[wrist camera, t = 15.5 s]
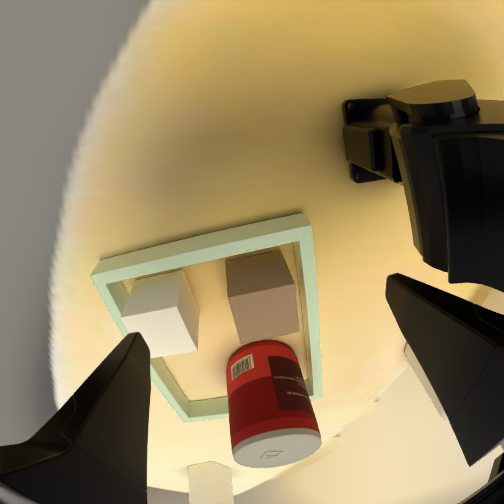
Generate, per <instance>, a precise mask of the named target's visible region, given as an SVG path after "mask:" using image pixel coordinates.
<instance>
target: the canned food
mask: <svg viewBox="0 0 504 504" xmlns="http://www.w3.org/2000/svg"><path fill="white" fill-rule="evenodd" d="M226 379H227V394H228V409H229V423H230V436H231V445H232V453H233V458H234V461H236V462H237V463H238V464H240V465H243V466H247V467H253V468H270V467H278V466H283V465H288V464H291V463H294V462H297V461H300V460H302V459H304V458H306V457H308V456H310V455H311V454H313V453H314V452H315V451H317V450H318V449H319V447H320V446H321V444H322V442H321V435H320V432H319V428H318V424H317V421H316V418H315V414H314V411H313V408H312V405H311V401H310V398H309V395H308V392H307V388H306V385H305V382H304V379H303V376H302V372H301V369H300V366H299V363H298V360H297V357H296V356H295V354H294V353H293V352H292V350H291V349H290V348H289V347H288V346H286V345H284V344H282V343H278V342H273V341H263V342H256V343H253V344H249V345H247V346H245V347H243V348H241V349H240V350H238V351H237V352H236V353H235V354H234V355H233V356H232V357H231V359H230V361H229V363H228V366H227V370H226Z"/></svg>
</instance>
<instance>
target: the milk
mask: <svg viewBox="0 0 504 504" xmlns="http://www.w3.org/2000/svg"><path fill="white" fill-rule="evenodd" d="M189 504H234V499H233V489H232V479H231V469H230V468H229V467H226V466H223V465H221V464H218V463H215V462H213V461H210V462H206V463H201V464H196V465H191V466H189Z"/></svg>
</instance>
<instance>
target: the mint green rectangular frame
mask: <svg viewBox="0 0 504 504" xmlns="http://www.w3.org/2000/svg"><path fill="white" fill-rule="evenodd" d="M291 242H293V243H294V251H295V258H296V266H297V273H298V281H299V290H300V298H301V307H302V316H303V325H304V335H305V345H306V355H307V366H308V378H309V379H308V380H305V381H304V382H305V385H306V388H307V392H308V395H309V398H310V400H314V399H318V398H321V397H322V367H321V341H320V321H319V305H318V290H317V277H316V266H315V255H314V244H313V235H312V225H311V224H310V222H309V221H308V220H307V219H306V217H305V216H304V215H303V214H302V213H299V214H294V215H290V216H285V217H280V218H275V219H271V220H266V221H262V222H257V223H252V224H248V225H243V226H239V227H234V228H230V229H226V230H221V231H217V232H212V233H208V234H204V235H200V236H195V237H191V238H187V239H183V240H179V241H174V242H170V243H166V244H162V245H158V246H154V247H150V248H146V249H142V250H138V251H134V252H130V253H126V254H122V255H118V256H114V257H111V258H107V259H103V260H100V261H99V263H98V264H97V266H96V267H95V269H94V271H93V272H92V274H91V275H90V276H91V278H92V281H93V283H94V285H95V286H96V288H97V290H98V292H99V294H100V296H101V298H102V300H103V302H104V304H105V306H106V307H107V309H108V311H109V313H110V315H111V316H112V318H113V320H114V322H115V323H116V325H117V327H118V328H119V330H120V332H121V334H122V335H123V337H124V338H125V336H126V335H127V334H128V333H129V332H128V330H127V328H126V327H125V325H124V323H123V322H122V320H121V318H120V317H121V314H122V312H123V309H124V307H125V304H126V302H127V299H128V296H127V294H126V292H125V290H124V287H123V285H122V283H121V280H126V279H130V278H135V277H139V276H144V275H148V274H152V273H157V272H161V271H166V270H170V269H175V268H179V267H184V266H188V265H193V264H197V263H202V262H206V261H211V260H215V259H220V258H224V257H229V256H233V255H238V254H242V253H247V252H251V251H256V250H260V249H264V248H269V247H273V246H278V245H282V244H287V243H291ZM150 375H151V380H152V381H153V382H154V384H155V385H156V387H157V388H158V389H159V391H160V392H161V393H162V395H163V396H164V398H165V399H166V400H167V401H168V403H169V404H170V405H171V407H172V408H173V409H174V411H175V412H176V413H177V414H178V416H179V417H180V418H181V419H182V421H183V422H192V421H202V420H211V419H219V418H226V417H229V409H228V396H227V397H221V398H214V399H207V400H199V401H191V402H189V401H188V399H187V398H186V396H185V395H184V393H183V392H182V390H181V389H180V387H179V386H178V384H177V383H176V381H175V380H174V378H173V376H172V375H171V373H170V372H169V370H168V368H167V367H166V365H165V363H164V362H163V360H162V358H161V357H156V358H150Z"/></svg>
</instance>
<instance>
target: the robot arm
mask: <svg viewBox="0 0 504 504" xmlns="http://www.w3.org/2000/svg"><path fill="white" fill-rule="evenodd" d="M349 103H350V104H351V106H352V107H351V109H349V108H348V104H349ZM342 107H343V114H344V121H345V126H344V128H343V133H344V141H345V149H346V158H347V160H348V161H349V163H350V174H351V179H352V181H354V182H356V183H363V182H370V181H376V180H382V179H389V180H391V181H393V182H395V183H398V184H400V185H402V186H404V190H405V195H406V200H407V205H408V210H409V216H410V222H411V228H412V234H413V241H414V246H415V247H416V248H417V250H418V251H419V253H420V254H421V255H422V257H423V261H424V262H425V263H427V264H428V265H430V266H431V267H433V268H436V269H439V270H441V271H444V272H448V282H449V283H451V284H454V283H466V282H468V283H476V284H483V285H486V286H489V287H492V288H494V289H497V290H499V291H502V292H504V101H497V100H477V99H476V95H475V92H474V91H473V89H472V88H471V86H470V85H469V84H468V82H467V81H466V80H443V81H435V82H431V83H427V84H423V85H420V86H416V87H412V88H409V89H405V90H402V91H398V92H395V93H392V94H388V95H386V99H355V100H345V101H344V102H343V106H342ZM357 174H359V178H358V179H356V175H357ZM385 295H386V300H387V302H388V304H389V306H390V308H391V310H392V312H393V315H394V317H395V319H396V321H397V323H398V326H399V328H400V330H401V332H402V334H403V335H404V337H405V339H406V341H407V342H408V344H409V346H410V348H411V349H412V351H413V353H414V355H415V356H416V358H417V360H418V362H419V363H420V365H421V367H422V369H423V371H424V373H425V374H426V376H427V378H428V380H429V382H430V384H431V386H432V388H433V390H434V391H435V393H436V395H437V397H438V399H439V401H440V403H441V405H442V407H443V409H444V411H445V414H446V416H447V418H448V420H449V421H450V424H451V427H452V429H453V431H454V433H455V435H456V437H457V440H458V442H459V444H460V447H461V449H462V451H463V453H464V456H465V458H466V461H467V463H468V465H469V466H472V465H473V464H475V463H476V462H477V461H479V460H480V459H481V458H483V457H484V456H486V455H487V454H488V453H489V452H491V451H492V450H493V449H495V448H496V447H497V446H498V445H501V447H502V448H503V450H504V315H502V314H499V313H496V312H494V311H491V310H489V309H486V308H484V307H481V306H479V305H477V304H473V303H472V302H469V301H467V300H465V299H462V298H460V297H457V296H455V295H452V294H450V293H448V292H445V291H443V290H440V289H438V288H435V287H433V286H430V285H428V284H425V283H423V282H420V281H418V280H415V279H412V278H410V277H407V276H405V275H402V274H400V273H395V274H391V275H389V276H388V277H387V282H386V292H385ZM150 393H151V375H150V349H149V347H148V345H147V343H146V342H145V340H144V338H143V336H142V335H141V333H140V332H132V333H128V334H127V335H126V336H125V338H124V339H123V340H122V341H121V342H120V343H119V344H118V345H117V346H116V347H115V348H114V349H113V351H112V352H111V353H110V354H109V355H108V356H107V357H106V358H105V359H104V360H103V361H102V363H101V364H100V365H99V366H98V367H97V368H96V369H95V370H94V371H93V373H92V374H91V375H90V376H89V377H88V378H87V379H86V380H85V381H84V383H83V384H82V385H81V386H80V387H79V388H78V389H77V390H76V392H75V393H74V395H72V396H71V397H70V398H69V400H68V401H67V402H66V403H65V404H64V405H63V406H62V407H61V408H60V410H59V411H58V412H57V413H56V414H55V415H54V416H53V417H52V418H51V419H50V420H49V421H48V422H47V423H46V424H45V425H44V426H43V427H41V428H40V429H39V431H37V432H36V433H35V434H34V435H33V437H31V438H30V439H29V440H27V441H25V442H23V443H20V444H14V445H6V446H0V504H147V492H146V491H147V443H148V422H149V406H150ZM458 504H504V453H502V454H501V455H500V456H499V457H497V458H496V459H495V460H494V464H493V467H492V471H491V474H490V477H489V480H488V483H487V484H485V485H484V486H483V487H481V488H480V489H479V490H477V491H476V492H474V493H473V494H471V495H470V496H469V497H467V498H466V499H464V500H463V501H461V502H460V503H458Z"/></svg>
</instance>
